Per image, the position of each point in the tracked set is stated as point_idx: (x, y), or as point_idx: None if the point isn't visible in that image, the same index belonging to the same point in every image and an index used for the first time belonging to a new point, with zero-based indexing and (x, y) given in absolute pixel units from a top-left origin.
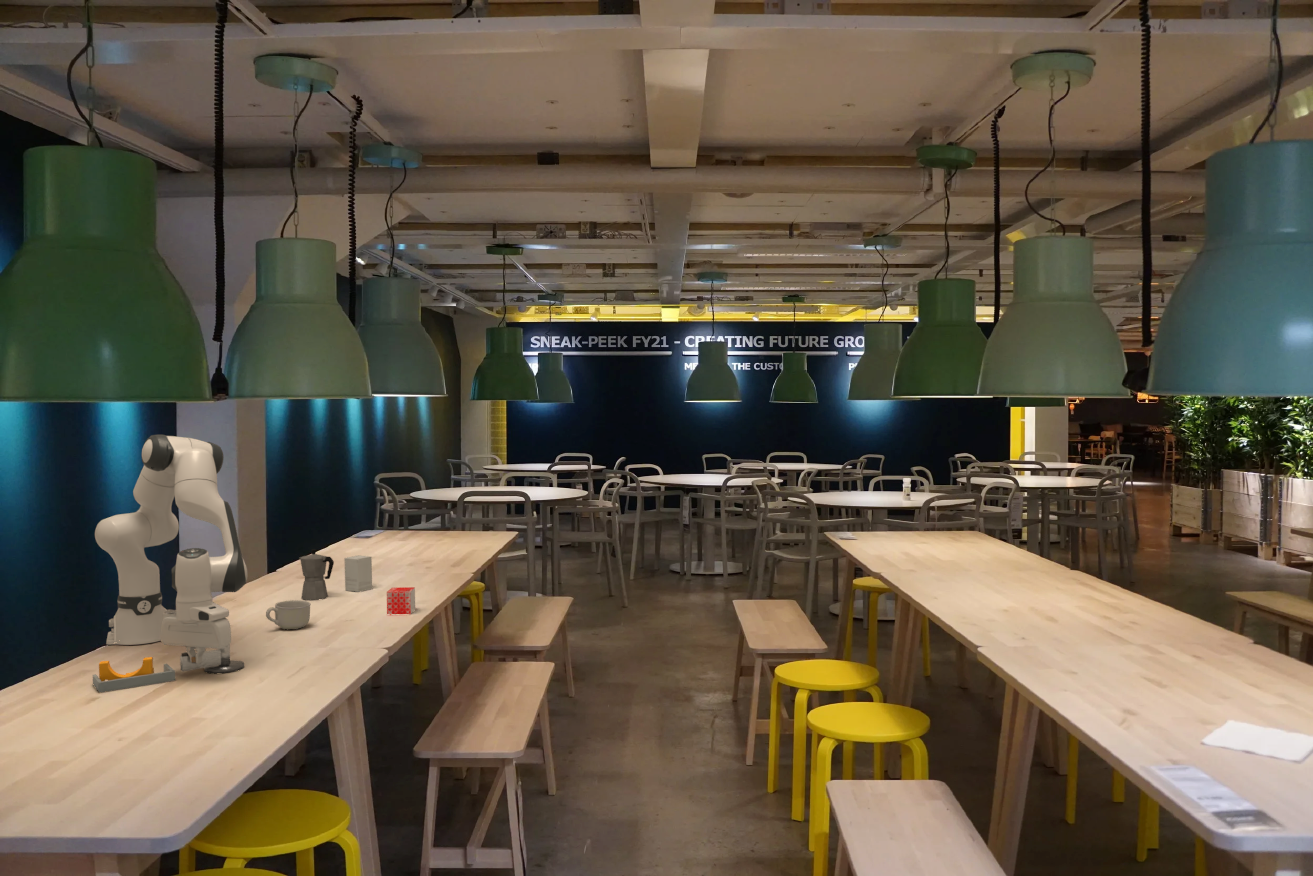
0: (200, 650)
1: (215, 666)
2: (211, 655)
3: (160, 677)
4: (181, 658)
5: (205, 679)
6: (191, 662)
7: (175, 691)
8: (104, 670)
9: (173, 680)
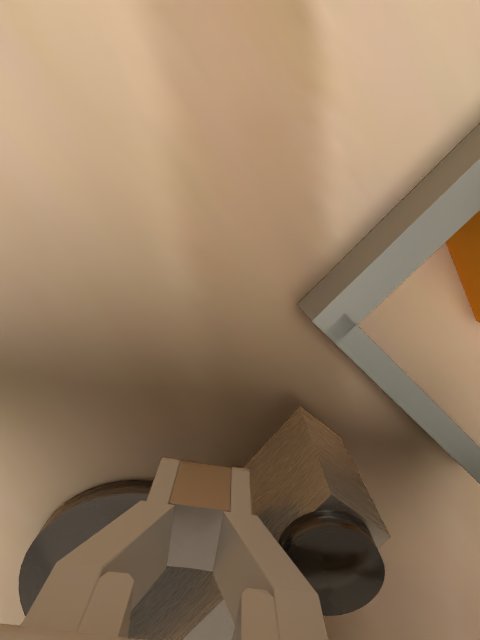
0: (48, 585)
1: None
2: (148, 638)
3: (391, 230)
4: (348, 492)
5: (102, 360)
6: (232, 468)
7: (101, 6)
8: None
9: (307, 296)
